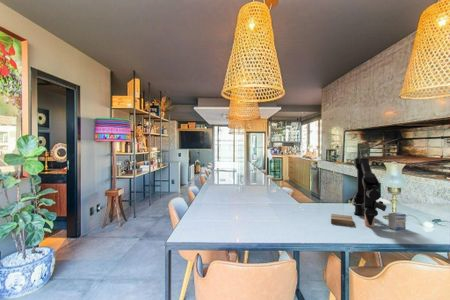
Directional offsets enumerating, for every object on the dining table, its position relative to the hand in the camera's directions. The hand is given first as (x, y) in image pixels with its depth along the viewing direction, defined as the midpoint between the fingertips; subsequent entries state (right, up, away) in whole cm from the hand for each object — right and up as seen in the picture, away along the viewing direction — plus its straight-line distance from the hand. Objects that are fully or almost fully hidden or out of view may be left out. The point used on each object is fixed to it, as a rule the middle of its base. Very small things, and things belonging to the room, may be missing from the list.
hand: (369, 222), depth 146 cm
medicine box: (+13, -2, -5) cm, 14 cm away
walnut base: (-14, -1, +6) cm, 15 cm away
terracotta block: (0, -2, 0) cm, 2 cm away
